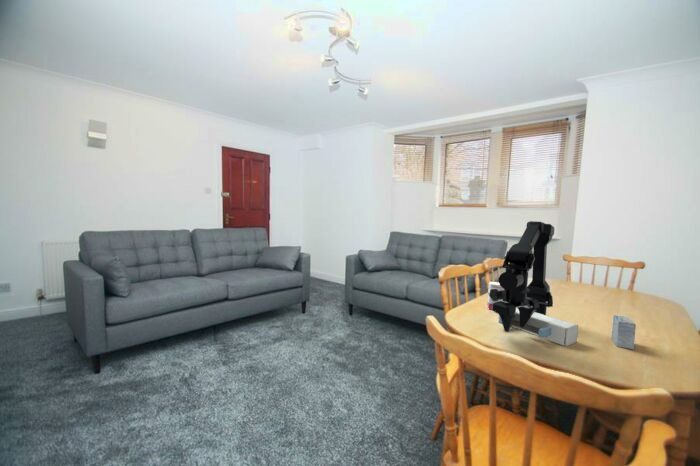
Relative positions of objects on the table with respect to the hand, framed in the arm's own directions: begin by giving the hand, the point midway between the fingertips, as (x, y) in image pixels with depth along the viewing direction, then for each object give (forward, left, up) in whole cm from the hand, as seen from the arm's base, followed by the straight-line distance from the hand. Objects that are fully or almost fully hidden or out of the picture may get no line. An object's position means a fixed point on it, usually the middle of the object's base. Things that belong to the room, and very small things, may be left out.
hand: (514, 329), depth 104 cm
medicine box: (-30, +20, -3) cm, 36 cm away
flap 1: (-6, -9, -3) cm, 11 cm away
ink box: (-25, -22, -3) cm, 33 cm away
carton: (-13, 0, -3) cm, 13 cm away
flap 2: (-6, +9, -3) cm, 11 cm away
